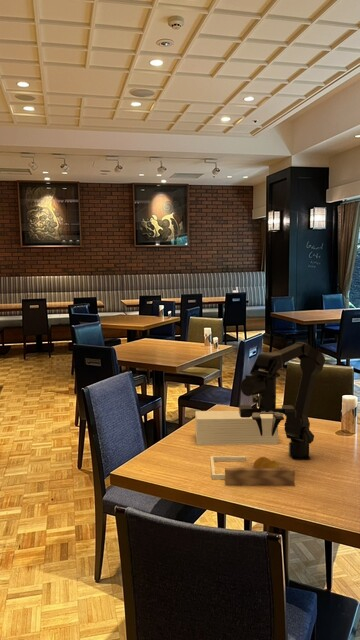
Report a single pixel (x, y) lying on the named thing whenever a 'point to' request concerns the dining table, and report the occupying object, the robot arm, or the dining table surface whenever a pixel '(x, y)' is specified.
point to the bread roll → (265, 463)
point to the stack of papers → (232, 429)
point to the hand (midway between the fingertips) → (266, 435)
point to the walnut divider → (260, 476)
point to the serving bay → (223, 458)
